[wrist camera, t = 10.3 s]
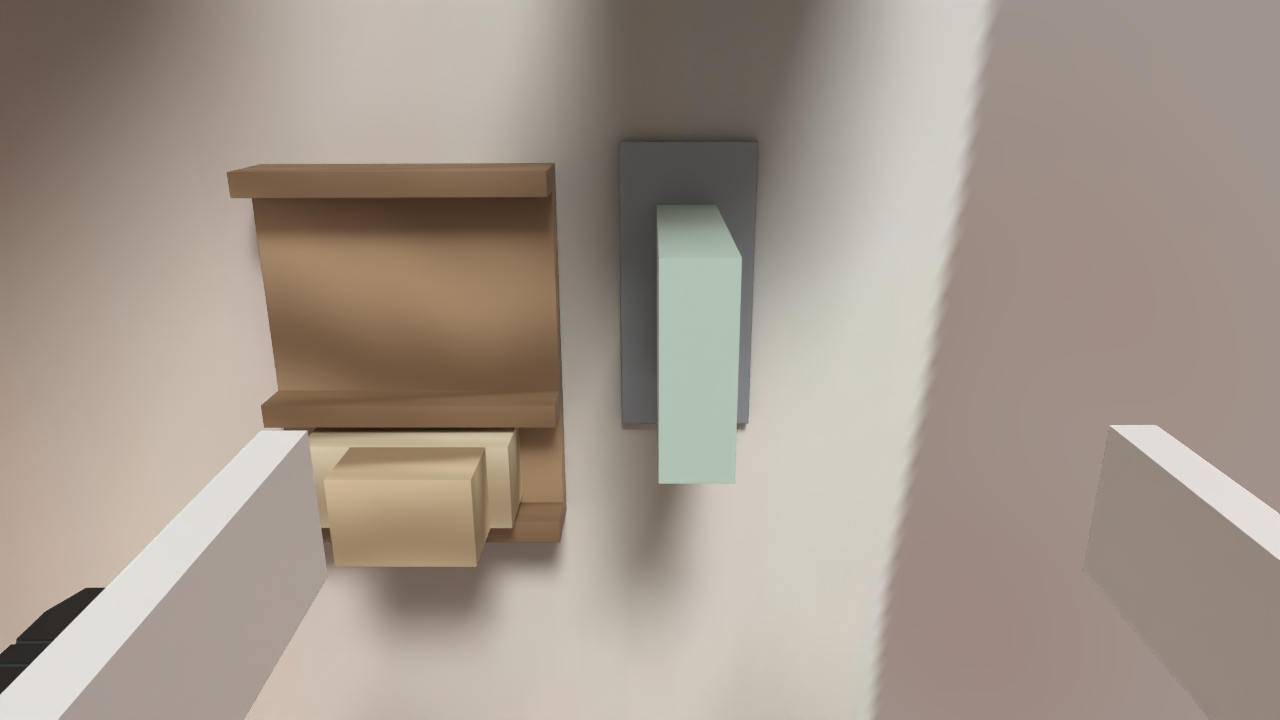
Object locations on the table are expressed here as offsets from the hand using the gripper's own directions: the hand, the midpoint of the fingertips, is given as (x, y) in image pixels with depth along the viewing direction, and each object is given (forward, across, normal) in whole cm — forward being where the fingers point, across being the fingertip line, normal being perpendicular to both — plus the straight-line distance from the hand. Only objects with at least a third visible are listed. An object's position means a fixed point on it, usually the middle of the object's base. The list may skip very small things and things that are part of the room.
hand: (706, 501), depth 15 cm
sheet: (+17, 0, -1) cm, 17 cm away
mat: (+17, +1, -1) cm, 17 cm away
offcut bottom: (+16, -9, -7) cm, 20 cm away
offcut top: (+14, -8, -7) cm, 17 cm away
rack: (+17, -9, -3) cm, 20 cm away
